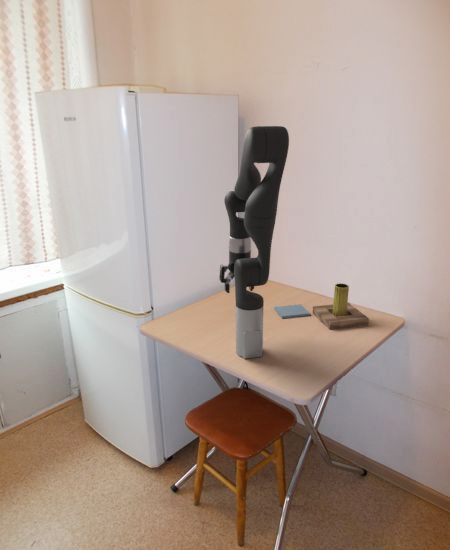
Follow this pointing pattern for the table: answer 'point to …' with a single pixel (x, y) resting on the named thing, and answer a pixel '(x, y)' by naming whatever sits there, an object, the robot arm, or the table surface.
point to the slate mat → (291, 311)
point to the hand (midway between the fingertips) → (239, 291)
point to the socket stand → (340, 317)
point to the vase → (340, 300)
